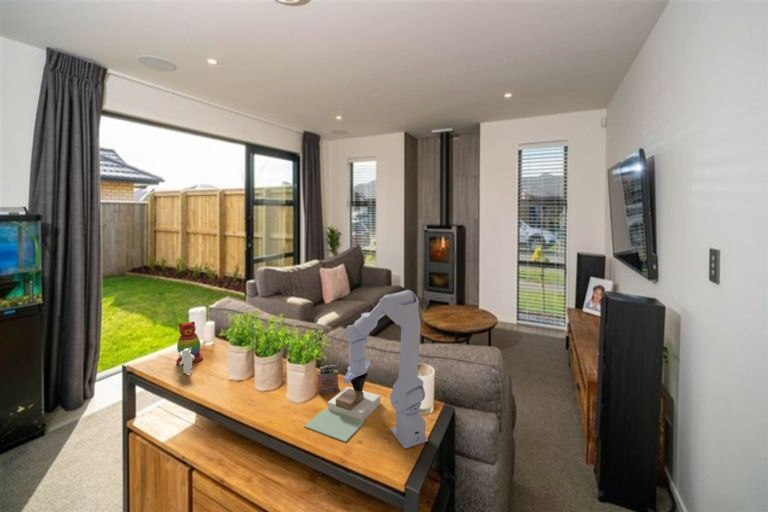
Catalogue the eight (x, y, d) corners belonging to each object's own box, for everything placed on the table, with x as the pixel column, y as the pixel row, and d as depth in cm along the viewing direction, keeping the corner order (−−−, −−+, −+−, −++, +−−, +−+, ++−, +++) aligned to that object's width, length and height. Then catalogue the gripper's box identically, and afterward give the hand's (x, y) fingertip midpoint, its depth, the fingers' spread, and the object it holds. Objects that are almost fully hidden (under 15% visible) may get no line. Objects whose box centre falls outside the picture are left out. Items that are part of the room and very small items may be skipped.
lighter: (318, 394, 128) (317, 369, 127) (317, 390, 131) (316, 365, 130) (339, 391, 130) (338, 366, 129) (338, 387, 133) (337, 362, 132)
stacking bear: (176, 366, 153) (172, 327, 151) (177, 357, 162) (173, 321, 160) (203, 360, 158) (200, 323, 156) (202, 353, 167) (200, 318, 165)
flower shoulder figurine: (198, 374, 145) (196, 347, 144) (189, 378, 142) (186, 350, 140) (185, 369, 149) (183, 343, 148) (176, 373, 146) (174, 346, 144)
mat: (325, 409, 118) (325, 408, 118) (365, 422, 111) (365, 421, 111) (304, 427, 109) (304, 425, 109) (345, 442, 101) (345, 441, 101)
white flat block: (347, 393, 128) (347, 386, 128) (380, 403, 122) (380, 395, 121) (328, 410, 118) (327, 402, 117) (362, 421, 111) (362, 413, 111)
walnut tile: (349, 394, 122) (349, 388, 122) (363, 399, 119) (363, 392, 119) (335, 406, 115) (335, 399, 115) (350, 410, 112) (350, 403, 112)
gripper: (359, 348, 128) (359, 382, 130) (335, 363, 115) (337, 400, 117) (375, 351, 125) (375, 386, 126) (353, 367, 112) (354, 406, 114)
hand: (358, 393), depth 121 cm, fingers closed
